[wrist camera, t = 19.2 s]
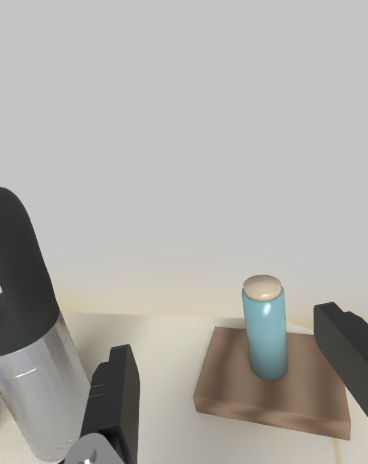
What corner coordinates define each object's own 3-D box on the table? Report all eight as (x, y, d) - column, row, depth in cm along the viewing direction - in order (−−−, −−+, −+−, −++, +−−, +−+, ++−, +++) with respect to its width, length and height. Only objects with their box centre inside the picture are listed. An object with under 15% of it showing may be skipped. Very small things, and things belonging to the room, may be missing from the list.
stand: (196, 411, 40) (193, 396, 39) (217, 340, 51) (215, 326, 50) (349, 440, 34) (350, 422, 33) (335, 352, 45) (336, 336, 44)
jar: (246, 375, 41) (236, 294, 36) (254, 348, 45) (246, 272, 40) (285, 384, 38) (280, 298, 34) (290, 355, 42) (286, 275, 38)
